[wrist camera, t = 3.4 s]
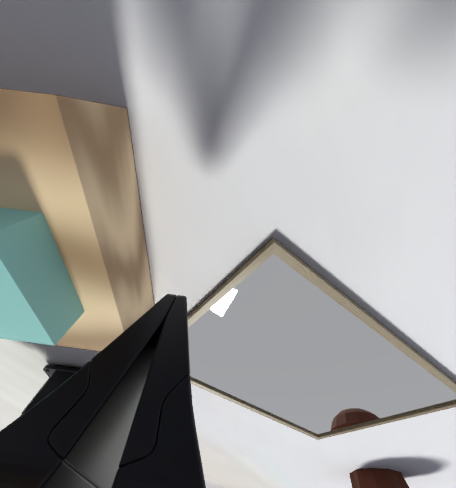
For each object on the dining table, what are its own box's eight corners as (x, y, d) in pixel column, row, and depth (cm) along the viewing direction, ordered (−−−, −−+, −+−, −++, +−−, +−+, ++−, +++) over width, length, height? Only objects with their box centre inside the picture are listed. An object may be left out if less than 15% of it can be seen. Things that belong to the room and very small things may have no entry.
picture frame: (145, 352, 21) (315, 430, 28) (141, 361, 20) (317, 439, 28) (272, 234, 12) (466, 389, 20) (274, 242, 12) (477, 401, 19)
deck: (154, 308, 16) (130, 355, 13) (-6, 286, 17) (-72, 327, 13) (126, 108, 9) (55, 95, 6) (-158, 74, 9) (-393, 42, 6)
